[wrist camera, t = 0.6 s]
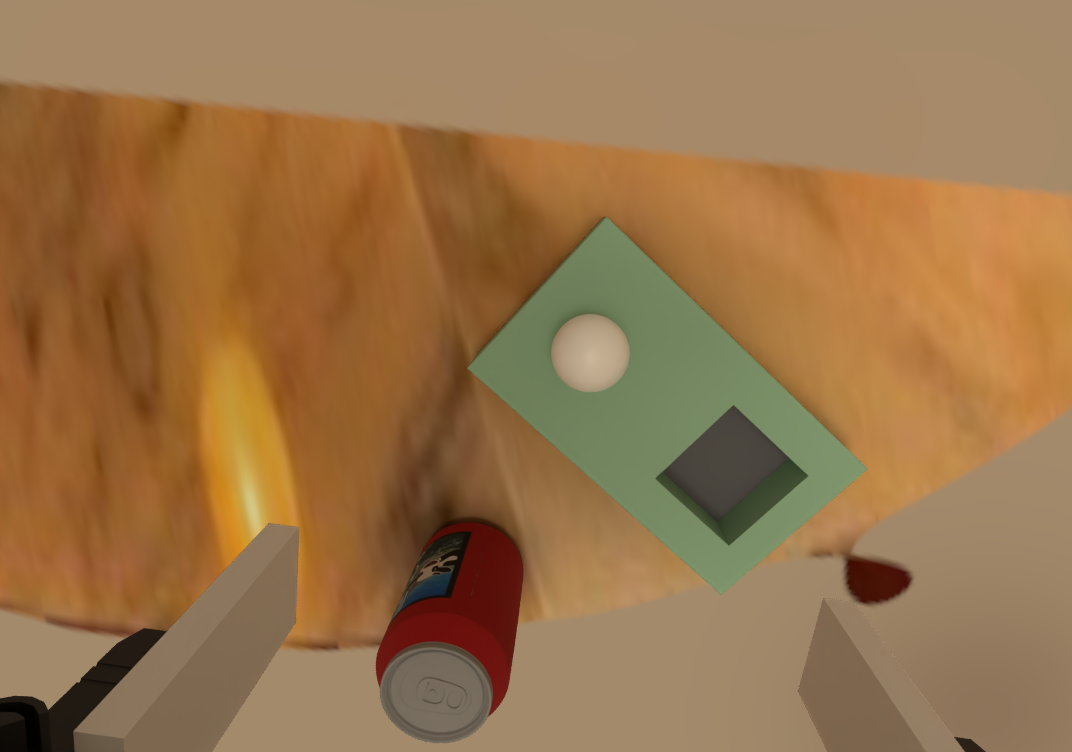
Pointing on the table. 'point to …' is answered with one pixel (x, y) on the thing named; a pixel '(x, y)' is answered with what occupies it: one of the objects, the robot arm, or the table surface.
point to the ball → (590, 353)
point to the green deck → (669, 413)
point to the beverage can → (452, 635)
